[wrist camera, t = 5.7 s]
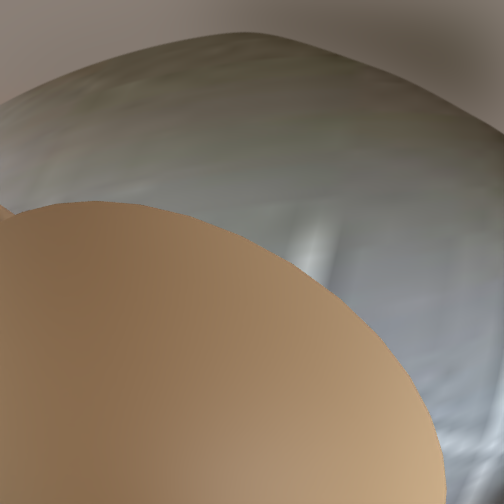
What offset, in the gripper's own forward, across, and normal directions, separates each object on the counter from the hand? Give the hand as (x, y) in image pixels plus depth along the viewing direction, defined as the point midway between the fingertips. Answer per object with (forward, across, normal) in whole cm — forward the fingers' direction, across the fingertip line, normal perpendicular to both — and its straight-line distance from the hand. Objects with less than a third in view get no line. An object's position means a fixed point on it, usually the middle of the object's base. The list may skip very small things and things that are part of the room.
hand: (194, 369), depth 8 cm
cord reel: (+4, 0, +6) cm, 7 cm away
